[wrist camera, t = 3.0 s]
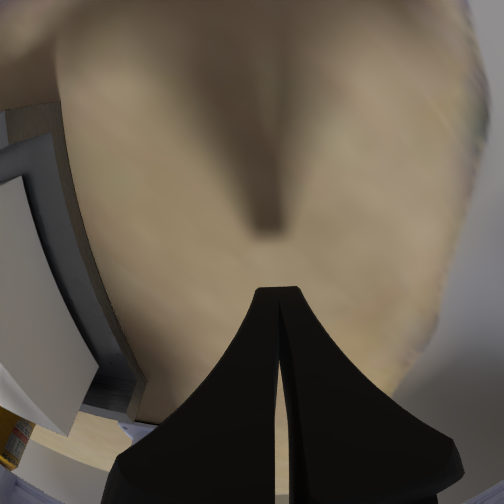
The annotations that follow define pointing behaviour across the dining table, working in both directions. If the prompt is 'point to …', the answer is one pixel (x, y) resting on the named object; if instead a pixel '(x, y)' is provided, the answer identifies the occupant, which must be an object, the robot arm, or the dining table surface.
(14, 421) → the condiment
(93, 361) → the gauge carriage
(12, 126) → the gauge frame
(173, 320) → the dining table surface
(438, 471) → the robot arm
